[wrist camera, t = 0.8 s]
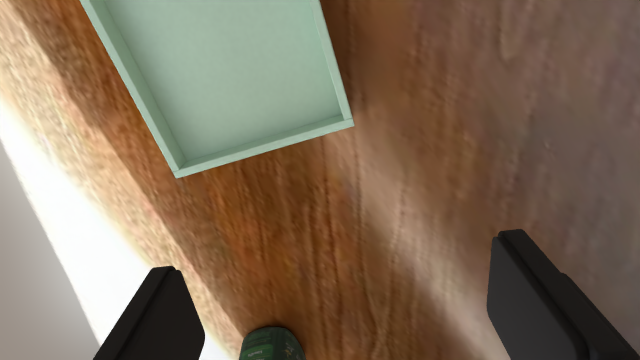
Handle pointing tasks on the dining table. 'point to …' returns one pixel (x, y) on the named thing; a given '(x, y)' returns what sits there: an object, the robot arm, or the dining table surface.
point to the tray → (224, 74)
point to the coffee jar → (271, 345)
